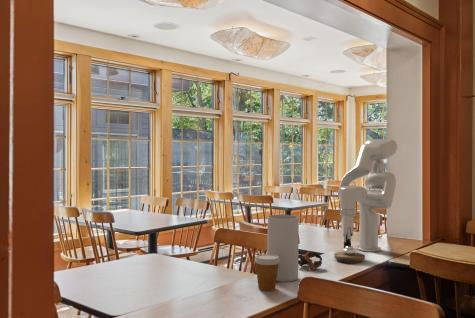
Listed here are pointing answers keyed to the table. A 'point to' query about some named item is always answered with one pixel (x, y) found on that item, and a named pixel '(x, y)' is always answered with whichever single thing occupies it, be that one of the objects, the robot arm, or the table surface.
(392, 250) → the table surface
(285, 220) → the cylinder vase
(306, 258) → the brown ornate stand
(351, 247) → the cover
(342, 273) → the table surface
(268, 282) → the disposable coffee cup
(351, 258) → the disc
